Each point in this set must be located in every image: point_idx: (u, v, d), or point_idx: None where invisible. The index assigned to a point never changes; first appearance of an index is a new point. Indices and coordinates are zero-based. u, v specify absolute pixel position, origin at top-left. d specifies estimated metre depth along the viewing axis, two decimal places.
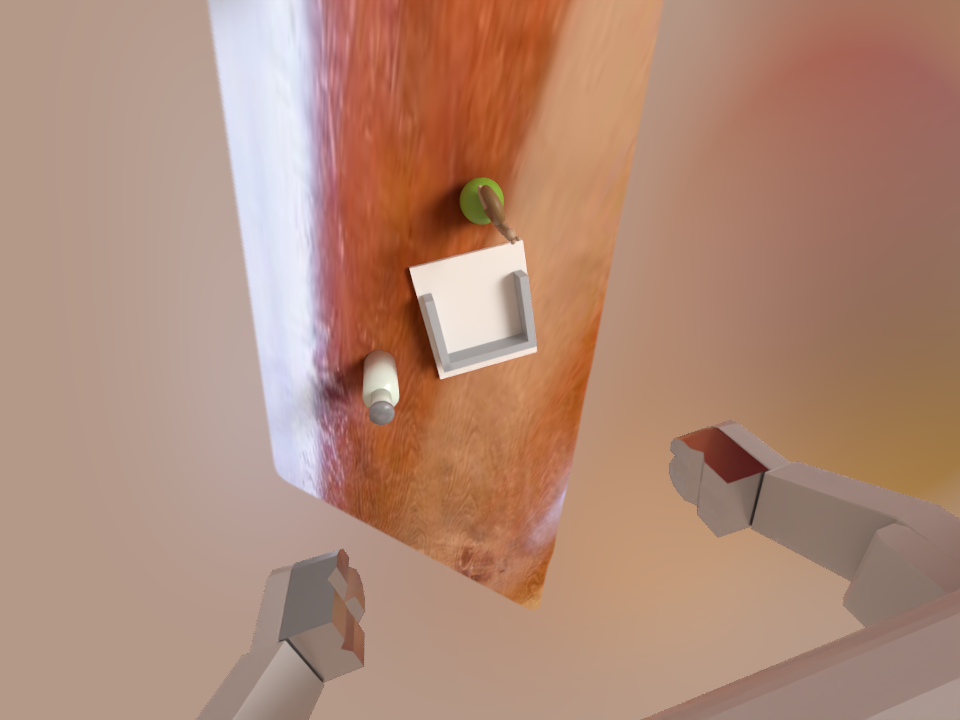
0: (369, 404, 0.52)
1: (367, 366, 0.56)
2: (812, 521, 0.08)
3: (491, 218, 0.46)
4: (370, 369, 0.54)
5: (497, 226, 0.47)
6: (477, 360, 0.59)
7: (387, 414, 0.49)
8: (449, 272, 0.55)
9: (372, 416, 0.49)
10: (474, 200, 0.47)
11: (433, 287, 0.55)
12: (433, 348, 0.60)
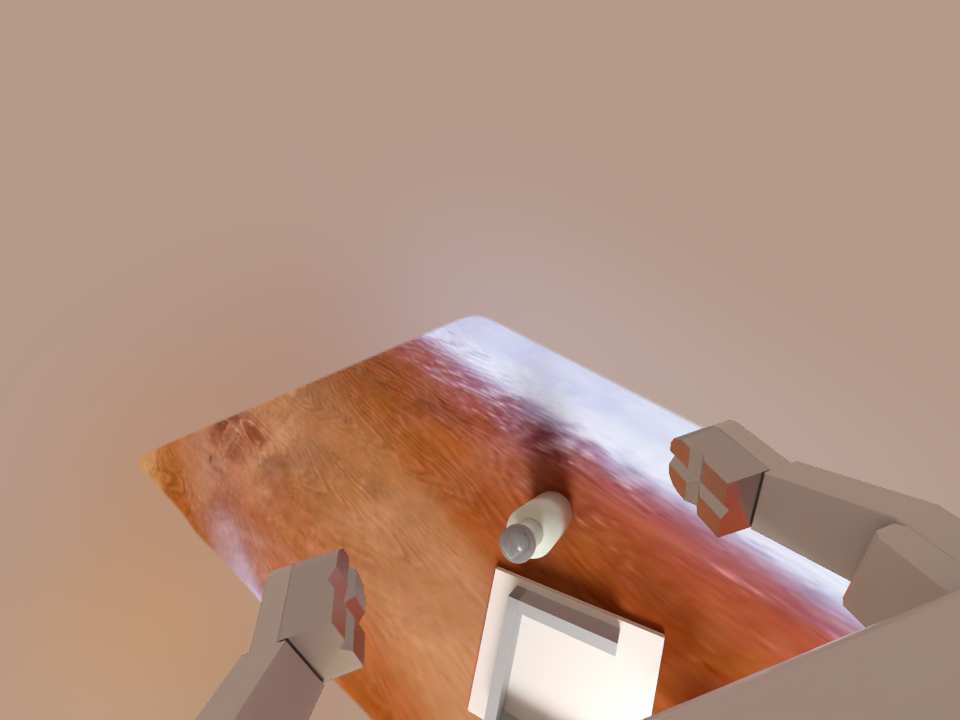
0: (527, 511, 0.38)
1: (564, 513, 0.42)
2: (812, 521, 0.08)
3: None
4: (563, 522, 0.40)
5: None
6: (502, 647, 0.42)
7: (513, 552, 0.34)
8: (634, 682, 0.40)
9: (520, 531, 0.34)
10: None
11: (623, 648, 0.40)
12: (540, 589, 0.44)
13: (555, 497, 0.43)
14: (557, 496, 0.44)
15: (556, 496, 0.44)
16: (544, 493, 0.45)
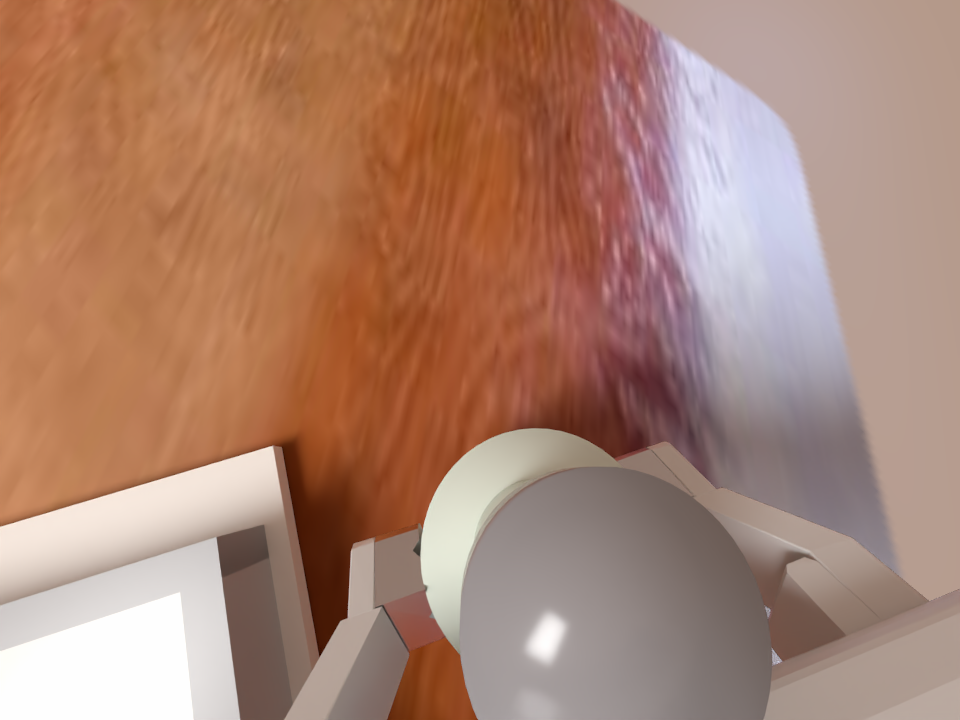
0: None
1: None
2: None
3: None
4: None
5: None
6: (35, 610, 0.12)
7: (543, 638, 0.04)
8: None
9: (725, 603, 0.04)
10: None
11: None
12: (293, 594, 0.15)
13: None
14: None
15: None
16: None
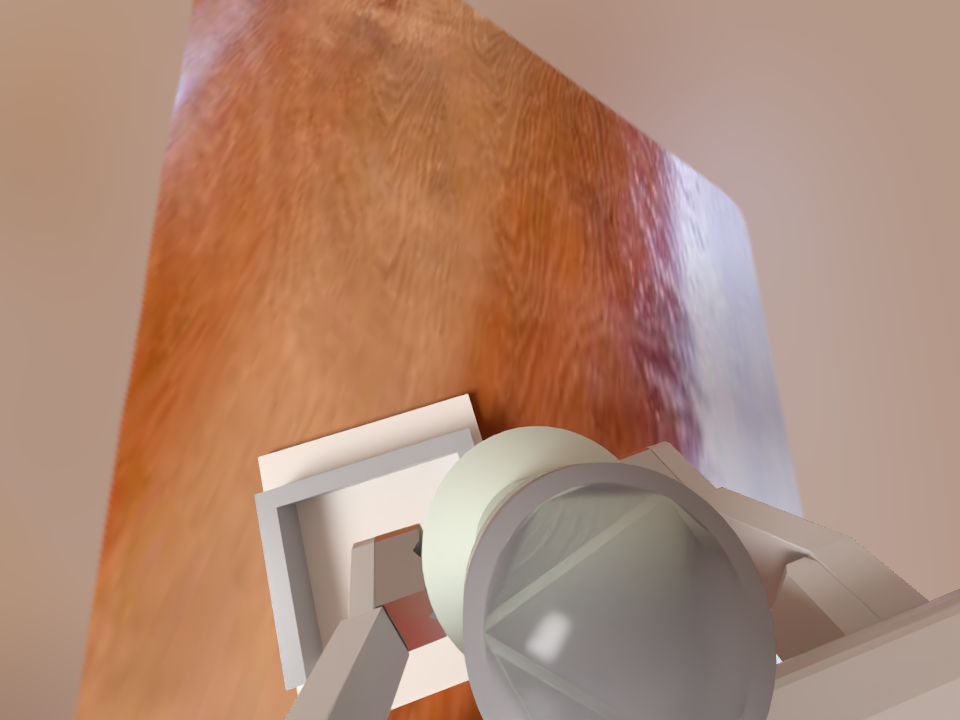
0: None
1: None
2: None
3: None
4: None
5: None
6: (396, 457, 0.27)
7: (546, 633, 0.04)
8: None
9: (728, 599, 0.04)
10: None
11: None
12: None
13: None
14: None
15: None
16: None
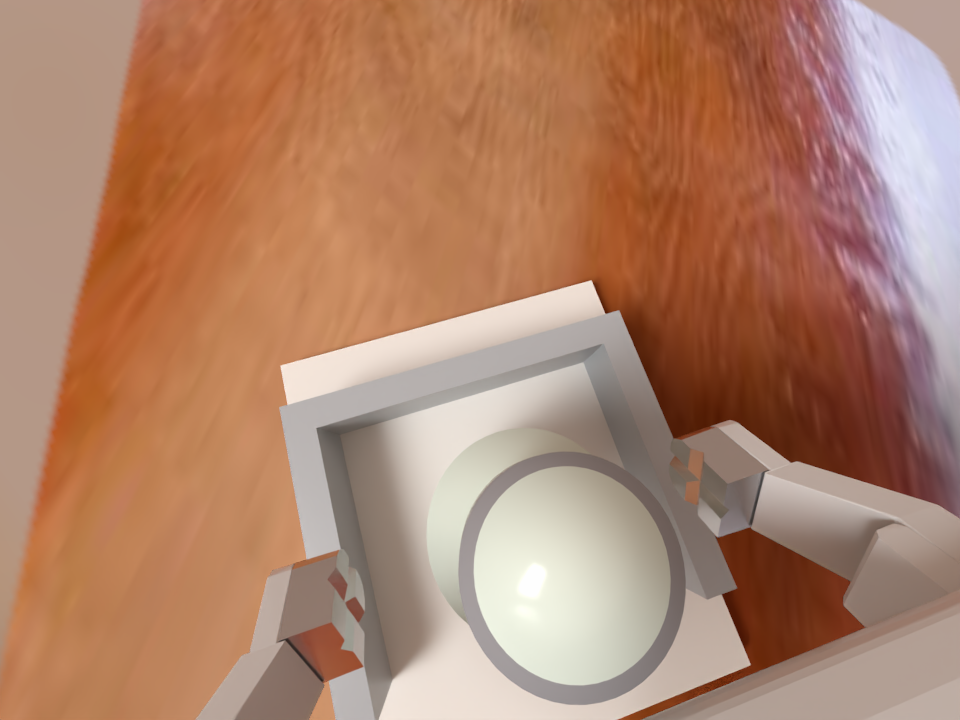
0: None
1: None
2: (812, 521, 0.08)
3: None
4: None
5: None
6: (508, 352, 0.17)
7: (519, 575, 0.05)
8: None
9: (653, 550, 0.05)
10: None
11: None
12: None
13: None
14: None
15: None
16: None
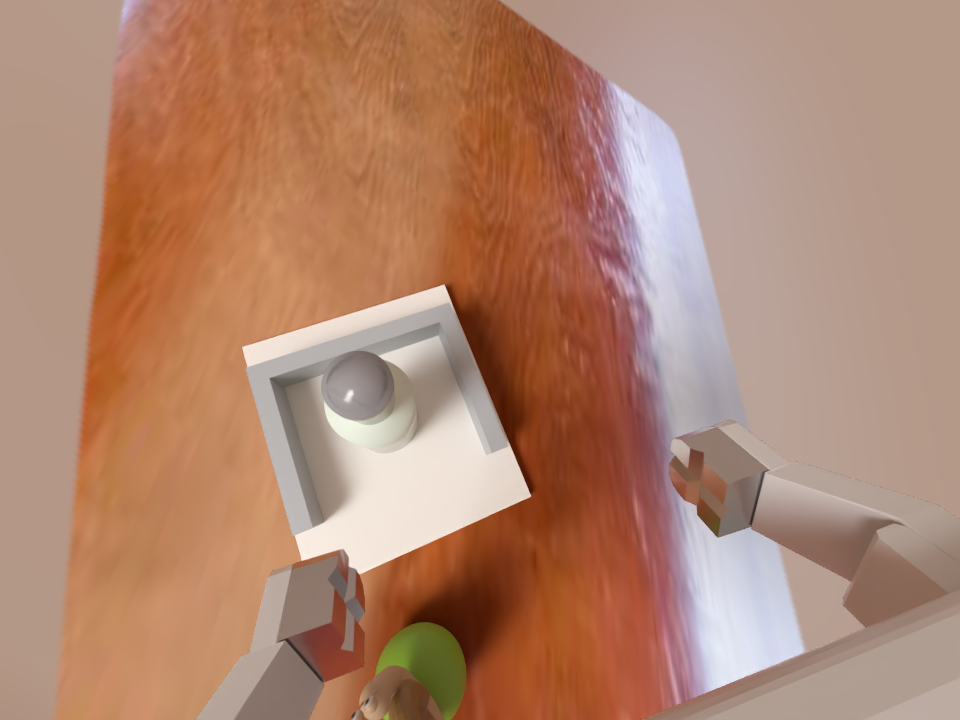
0: (398, 377, 0.22)
1: (408, 435, 0.26)
2: (812, 521, 0.08)
3: (418, 698, 0.19)
4: (400, 440, 0.25)
5: (399, 679, 0.20)
6: (383, 329, 0.28)
7: (340, 386, 0.17)
8: (457, 500, 0.29)
9: (383, 378, 0.18)
10: (448, 696, 0.22)
11: (483, 465, 0.30)
12: None
13: None
14: None
15: None
16: None
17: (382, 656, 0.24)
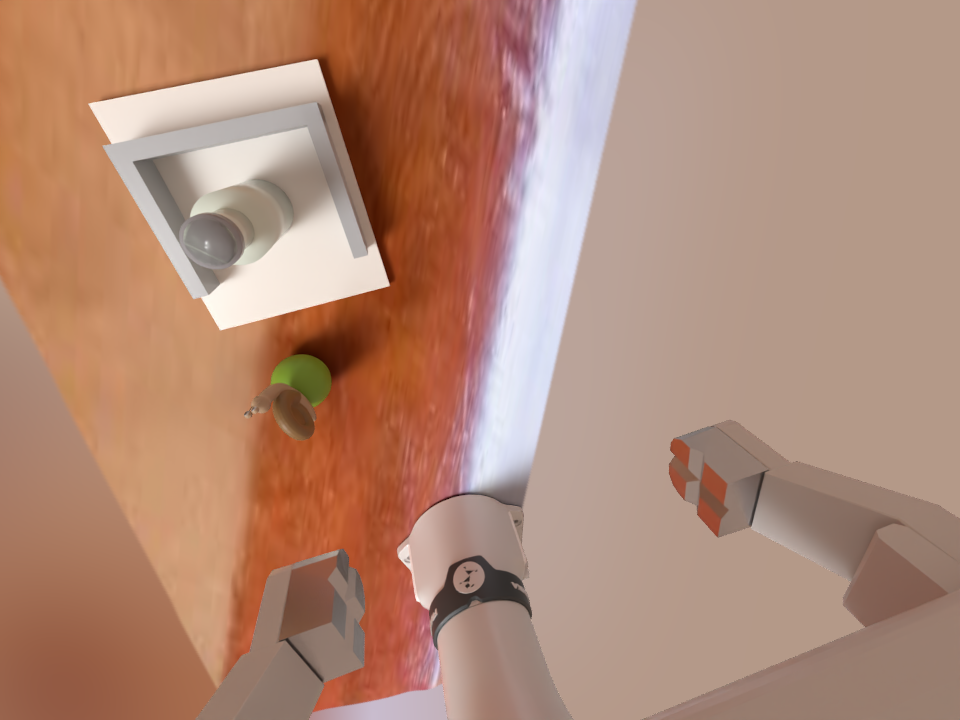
0: (254, 212, 0.26)
1: (280, 237, 0.32)
2: (812, 521, 0.08)
3: (291, 400, 0.34)
4: None
5: (279, 391, 0.34)
6: (245, 124, 0.28)
7: (196, 243, 0.22)
8: (329, 281, 0.37)
9: (232, 240, 0.23)
10: (316, 395, 0.38)
11: (352, 258, 0.37)
12: (341, 142, 0.33)
13: (288, 213, 0.32)
14: (289, 213, 0.33)
15: (289, 212, 0.32)
16: (280, 194, 0.32)
17: (274, 371, 0.38)
